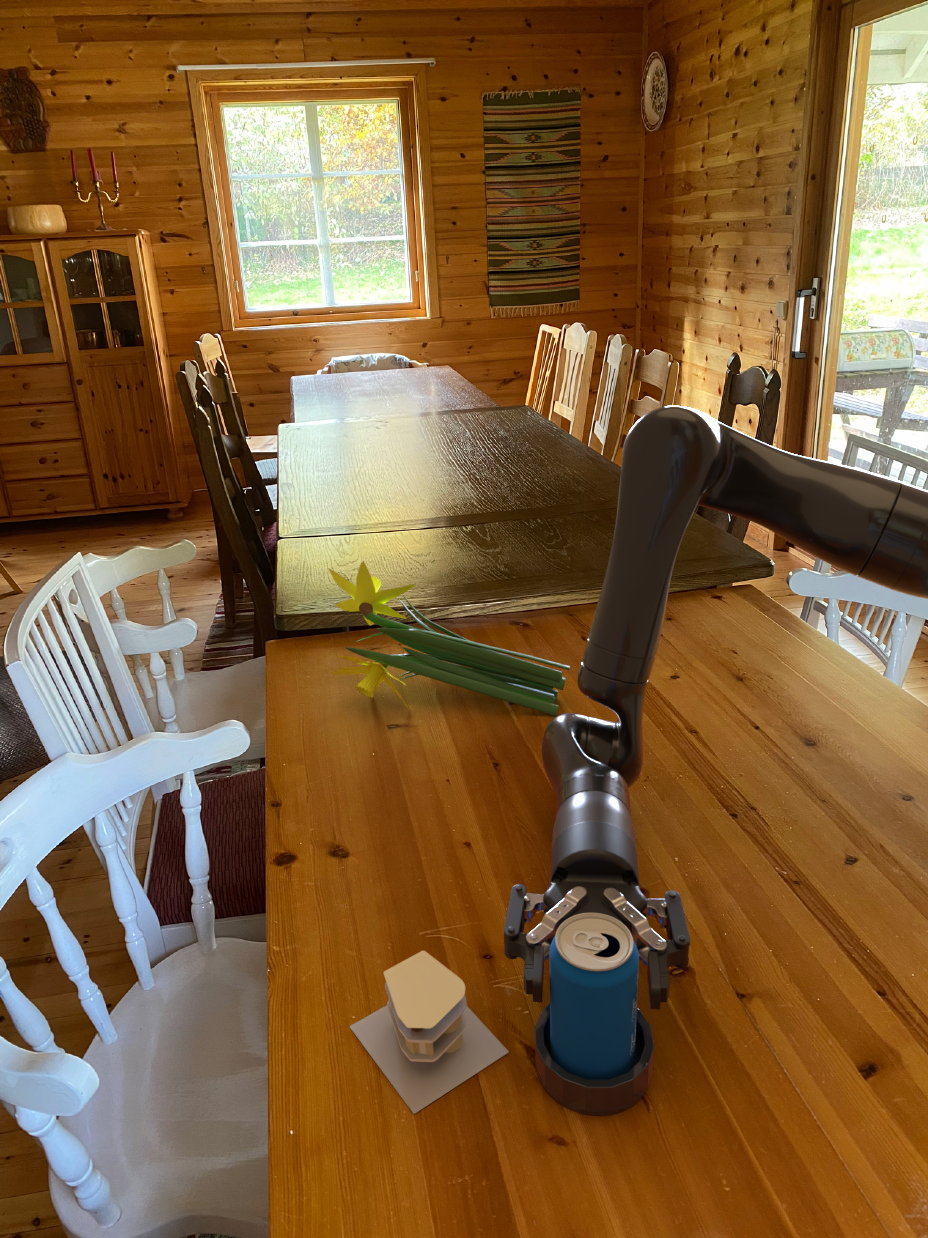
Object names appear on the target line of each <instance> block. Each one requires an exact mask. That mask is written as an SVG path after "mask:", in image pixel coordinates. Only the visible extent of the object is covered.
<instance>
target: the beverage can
mask: <svg viewBox="0 0 928 1238" xmlns="http://www.w3.org/2000/svg"><path fill="white" fill-rule="evenodd" d="M549 953H550V957H549V1004H550V1048H551V1055H552V1059H553V1061H555V1062H556V1063H557V1064H558V1065H559V1066H561V1067H562V1068H563V1069H564V1070H566V1071H567V1072H568V1073H570V1074H573V1075H576V1076H579V1077H582V1078H585V1079H596V1080H609V1079H612V1078H614V1077H617V1076H620V1075H622V1074H625V1073H628V1072H629V1071H630V1069H631V1067H632V1065H633V1062H634V1057H635V1037H636V1014H637V1008H638V989H639V987H638V985H639V967H640V965H639V964H640V959H639V954H638V949H637V947H636V944H635V943H634V941H633V937H632V935H631V933H630V931H629V929H628V928H627V927H626V926H625V925H624V924H623V923H622V922H620V921H619V920H617V919H615V918H613V917H611V916H608V915H605V914H600V913H582V914H578V915H574V916H572V917H570V918H568V919H567V920H565V921H564V922H563V923H562V924H561V925H560V926H559V928H558V930H557V932H556V935H555V937H554V938H553V940H552V943H551V946H550V952H549Z"/></svg>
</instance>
